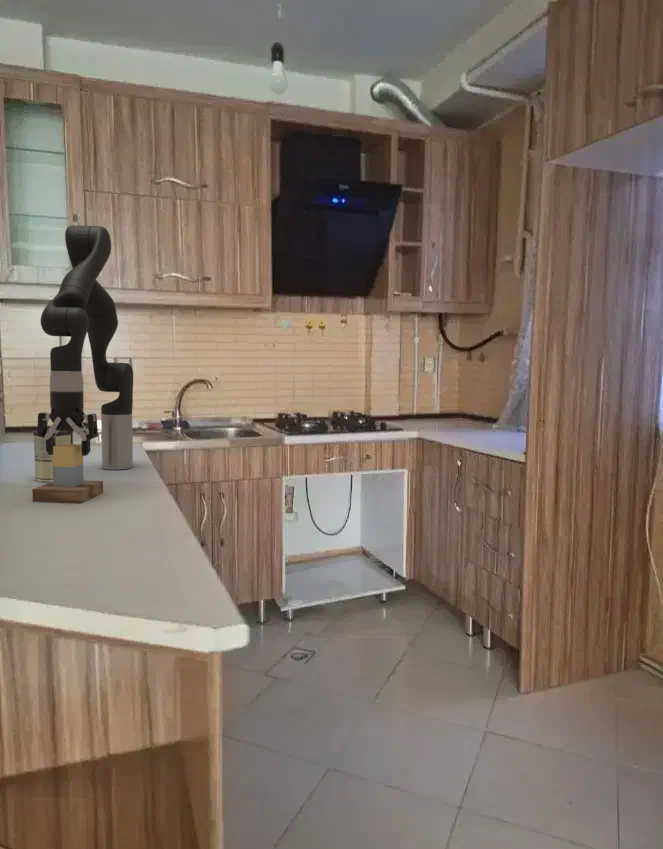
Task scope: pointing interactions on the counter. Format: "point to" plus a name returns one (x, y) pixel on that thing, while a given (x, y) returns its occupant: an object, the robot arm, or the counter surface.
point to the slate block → (68, 476)
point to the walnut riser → (67, 492)
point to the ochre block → (67, 455)
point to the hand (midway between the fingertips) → (68, 454)
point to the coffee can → (45, 461)
